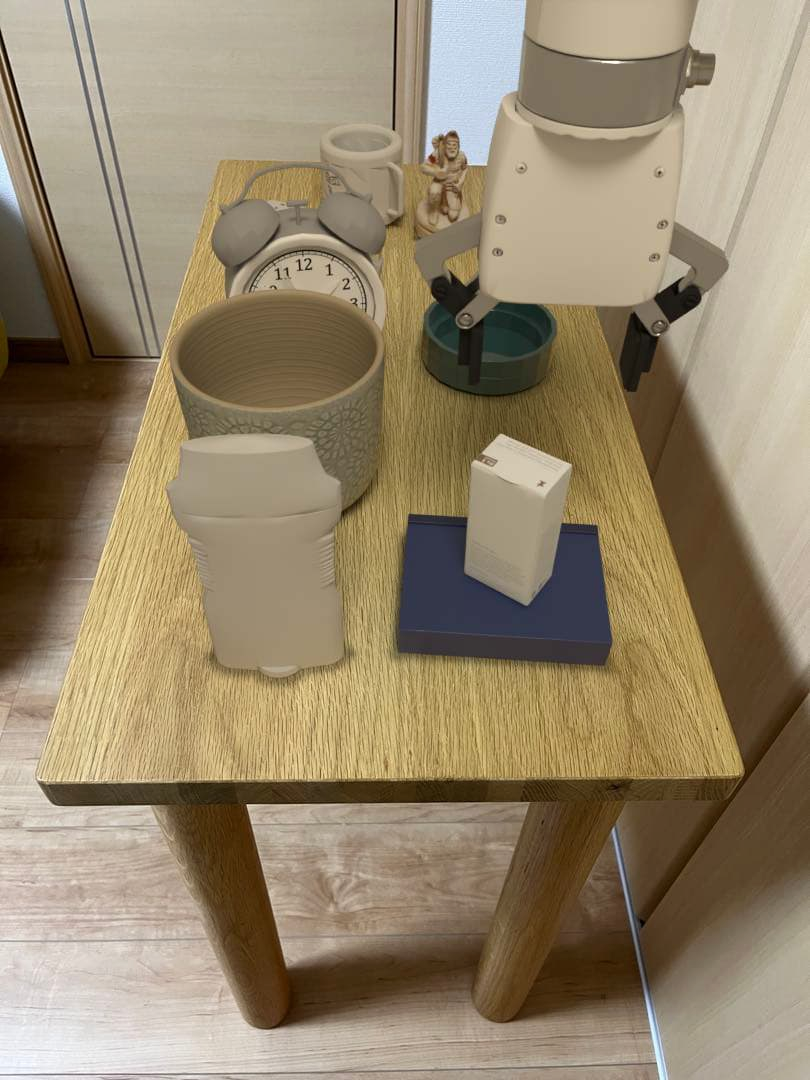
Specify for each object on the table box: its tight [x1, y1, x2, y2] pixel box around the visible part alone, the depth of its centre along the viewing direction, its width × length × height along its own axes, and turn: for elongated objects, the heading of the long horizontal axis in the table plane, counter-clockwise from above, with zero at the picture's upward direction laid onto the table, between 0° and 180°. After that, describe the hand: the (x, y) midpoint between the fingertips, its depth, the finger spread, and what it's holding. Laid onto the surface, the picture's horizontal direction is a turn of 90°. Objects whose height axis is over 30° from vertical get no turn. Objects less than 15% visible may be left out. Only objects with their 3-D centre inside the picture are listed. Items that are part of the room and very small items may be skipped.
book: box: [397, 513, 613, 667], centre depth 66 cm, size 16×12×3 cm
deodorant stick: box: [164, 434, 345, 679], centre depth 55 cm, size 11×4×22 cm, turn 93°
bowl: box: [421, 299, 559, 396], centre depth 89 cm, size 14×14×4 cm
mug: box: [319, 123, 405, 226], centre depth 109 cm, size 14×11×10 cm
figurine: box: [414, 129, 470, 239], centre depth 104 cm, size 7×7×15 cm
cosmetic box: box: [464, 433, 573, 606], centre depth 61 cm, size 6×4×12 cm
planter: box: [168, 289, 386, 513], centre depth 71 cm, size 17×17×15 cm
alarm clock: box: [210, 161, 388, 333], centre depth 80 cm, size 16×9×22 cm, turn 102°
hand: (549, 375), depth 52 cm, fingers open, 9 cm apart
